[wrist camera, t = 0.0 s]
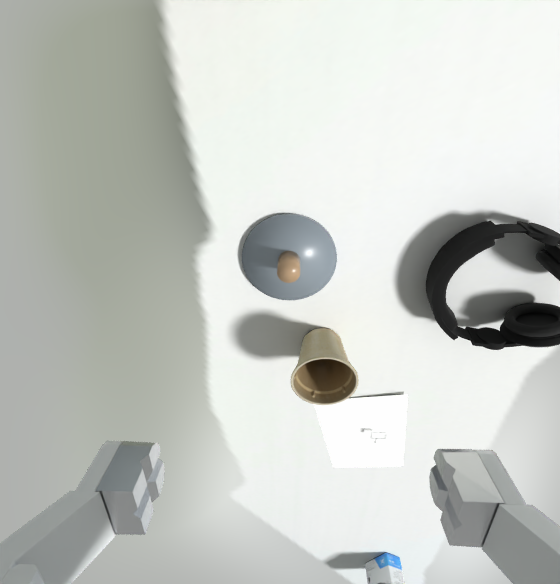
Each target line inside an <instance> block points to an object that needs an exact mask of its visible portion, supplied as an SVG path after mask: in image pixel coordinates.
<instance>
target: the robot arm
mask: <svg viewBox="0 0 560 584" xmlns="http://www.w3.org/2000/svg"><path fill="white" fill-rule="evenodd" d="M160 452H161V451H160V447H159V443H148V442H129V441H106V442H105V443H104V444H103V445H102V446H101V448H100V450H99V452H98V453H97V455H96V457H95V458H94V460H93V462H92V463H91V465H90V467H89V469H88V470H87V472H86V474H85V475H84V477H83V479H82V481H81V482H80V484H79V485H78V487H77V489H76V490H75V491H69V492H68V493H67V494H65V495H64V496H63V497H61V498H60V499H59V500H57V501H56V502H55V503H53V504H52V505H51V506H49V507H48V508H47V509H45V510H44V511H43V512H41V513H40V514H39V515H37V516H36V517H35V518H33V519H32V520H31V521H29V522H28V523H27V524H25V525H24V526H22V527H21V528H20V529H18V530H17V531H16V532H14V533H13V534H12V535H10V536H9V537H8V538H7V539H5V540H4V541H2V542H1V543H0V584H71V583H72V582H73V581H74V580H75V579H76V577H78V576H79V575H80V574H81V572H82V571H83V570H84V569H85V568H86V567H87V566H88V565H89V564H90V563H91V562H92V561H93V560H94V559H95V557H96V556H97V555H98V554H99V553H100V552H101V551H102V550H103V549H104V547H106V546H107V544H108V543H109V542H110V541H111V540H112V539H113V538H114V537H115V534H146V531H147V528H148V525H149V523H150V520H151V517H152V514H153V512H154V510H153V506H152V502H153V501H154V500H155V499H156V498H157V497H158V496H159V495H160V492H161V489H162V486H163V481H164V464H163V461H162V460H161V459H159V458H158V457H159V454H160ZM434 460H435V463H436V465H435V466H434V467H433V468H431V472H430V489H431V494H432V497H433V500H434V503H435V505H436V506H437V507H438V508H439V509H440V510H441V511H443V513H442V516H441V523H442V526H443V529H444V531H445V534H446V537H447V540H448V542H449V544H450V545H453V546H469V547H483V548H482V550H483V551H484V552H485V553H486V554H487V555H488V556H489V557H490V559H491V560H492V561H493V562H494V563H495V564H496V565H497V566H498V568H499V569H500V570H501V571H502V572H503V573H504V574H505V575H506V576H507V578H508V579H509V580H510V581H511V582H512V583H513V584H560V526H559V525H558V524H556V523H555V522H554V521H552V520H551V519H550V518H549V517H547V516H546V515H545V514H543V513H542V512H541V511H540V510H538V509H537V508H536V507H534V506H533V505H526V503H525V501H524V499H523V498H522V496H521V494H520V493H519V491H518V489H517V488H516V486H515V484H514V483H513V481H512V480H511V478H510V476H509V474H508V473H507V471H506V469H505V468H504V466H503V464H502V463H501V461H500V459H499V458H498V456H497V454H496V453H495V452H494V451H493V450H472V449H437V451H436V452H435V455H434Z"/></svg>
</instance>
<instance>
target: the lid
mask: <svg viewBox="0 0 560 584" xmlns="http://www.w3.org/2000/svg"><path fill="white" fill-rule="evenodd" d="M336 262H337V254H336V248H335V245H334V242H333V239H332V237H331V236H330V234H329V233H328V231H327V230H326V229H325V228H324V227H323V226H322V225H321V224H319V223H318V222H316V221H315V220H313V219H311V218H309V217H306V216H303V215H298V214H280V215H275V216H272V217H269V218H267V219H265V220H263V221H262V222H260V223H259V224H258V225H257V226H256V227H254V229H253V230H252V231H251V232H250V234H249V235H248V237H247V239H246V241H245V244H244V247H243V252H242V263H243V268H244V271H245V273H246V275H247V277H248V279H249V280H250V282H251V283H252V284H253V285H254V286H255V287H256V288H257V289H258V290H260V291H261V292H262V293H264V294H266V295H268V296H271V297H273V298H277V299H282V300H298V299H303V298H306V297H309V296H311V295H313V294H315V293H317V292H318V291H320V290H321V289H322V288H323V287H324V286H325V285H326V284H327V283H328V282H329V280H330V279H331V277H332V275H333V273H334V271H335V267H336Z"/></svg>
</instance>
